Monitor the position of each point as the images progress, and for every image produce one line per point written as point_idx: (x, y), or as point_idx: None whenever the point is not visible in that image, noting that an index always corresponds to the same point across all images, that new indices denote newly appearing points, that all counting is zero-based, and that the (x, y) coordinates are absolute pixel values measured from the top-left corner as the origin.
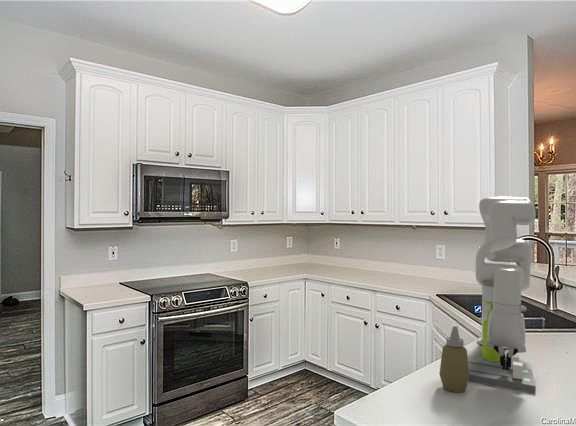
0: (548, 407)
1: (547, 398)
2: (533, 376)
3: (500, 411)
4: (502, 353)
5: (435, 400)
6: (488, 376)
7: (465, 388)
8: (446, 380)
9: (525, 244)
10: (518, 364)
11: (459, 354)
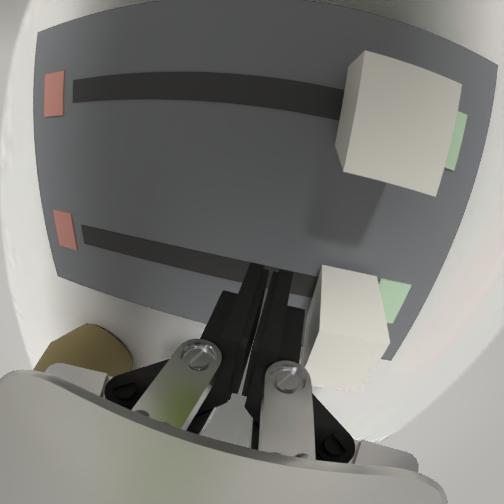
0: (367, 412)
1: (407, 365)
2: (458, 227)
3: (227, 433)
4: (205, 408)
5: None
6: (181, 300)
7: (130, 366)
8: None
9: None
10: (340, 376)
11: None
